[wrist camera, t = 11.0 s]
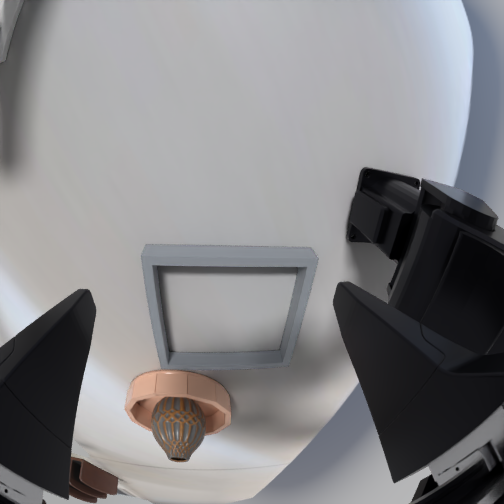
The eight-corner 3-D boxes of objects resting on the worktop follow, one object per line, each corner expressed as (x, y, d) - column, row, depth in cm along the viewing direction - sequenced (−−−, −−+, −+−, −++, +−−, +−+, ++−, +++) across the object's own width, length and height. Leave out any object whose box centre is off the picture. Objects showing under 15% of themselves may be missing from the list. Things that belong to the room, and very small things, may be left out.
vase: (152, 408, 32) (149, 462, 24) (153, 384, 29) (148, 447, 21) (200, 414, 33) (203, 468, 26) (208, 391, 30) (213, 454, 23)
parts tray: (311, 247, 23) (318, 258, 21) (285, 354, 29) (288, 366, 28) (145, 244, 21) (141, 255, 19) (162, 356, 27) (161, 368, 25)
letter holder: (97, 473, 58) (94, 505, 46) (61, 453, 48) (56, 489, 36) (118, 477, 58) (117, 510, 46) (83, 458, 48) (78, 497, 36)
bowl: (230, 370, 29) (232, 393, 26) (227, 418, 36) (229, 437, 33) (118, 365, 27) (113, 388, 24) (141, 415, 34) (139, 433, 31)
